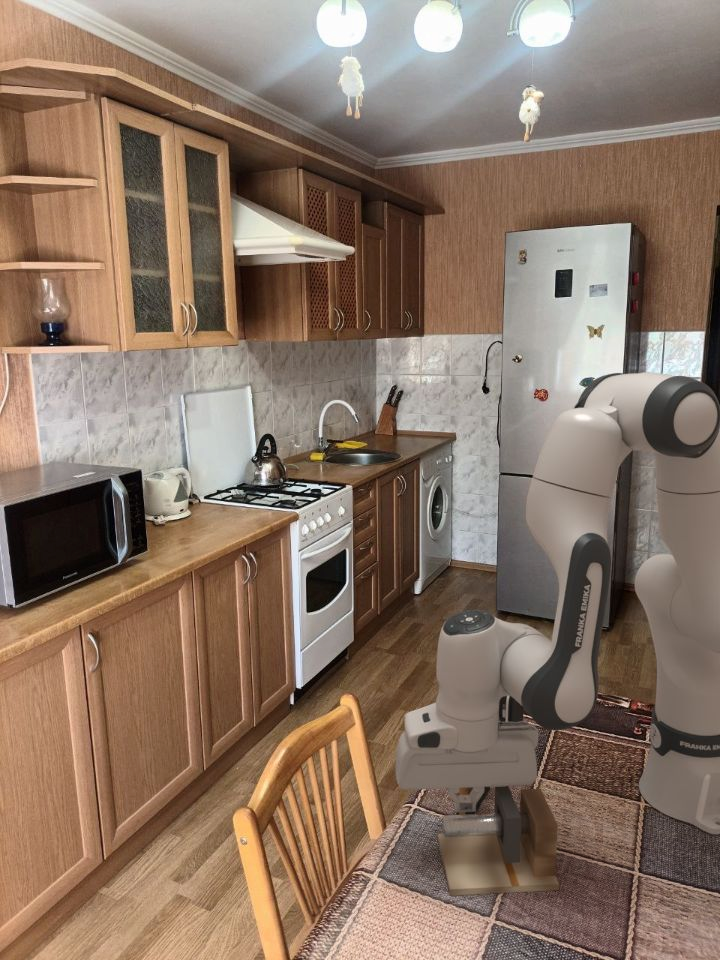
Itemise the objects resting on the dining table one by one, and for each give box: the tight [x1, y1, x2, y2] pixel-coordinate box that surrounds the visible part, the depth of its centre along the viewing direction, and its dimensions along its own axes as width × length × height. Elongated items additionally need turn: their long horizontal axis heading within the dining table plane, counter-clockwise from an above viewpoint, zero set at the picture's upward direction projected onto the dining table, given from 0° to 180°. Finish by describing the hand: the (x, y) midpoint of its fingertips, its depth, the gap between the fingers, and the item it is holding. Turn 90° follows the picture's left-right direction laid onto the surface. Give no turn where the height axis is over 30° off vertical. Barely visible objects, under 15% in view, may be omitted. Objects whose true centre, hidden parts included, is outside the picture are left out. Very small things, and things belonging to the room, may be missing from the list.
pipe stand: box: [437, 788, 560, 897], centre depth 103 cm, size 15×11×9 cm
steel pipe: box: [442, 811, 530, 837], centre depth 102 cm, size 14×3×3 cm, turn 93°
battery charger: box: [499, 695, 525, 722], centre depth 133 cm, size 7×4×11 cm, turn 148°
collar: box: [493, 786, 521, 863], centre depth 102 cm, size 2×7×7 cm, turn 3°
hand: (464, 809), depth 105 cm, fingers closed
